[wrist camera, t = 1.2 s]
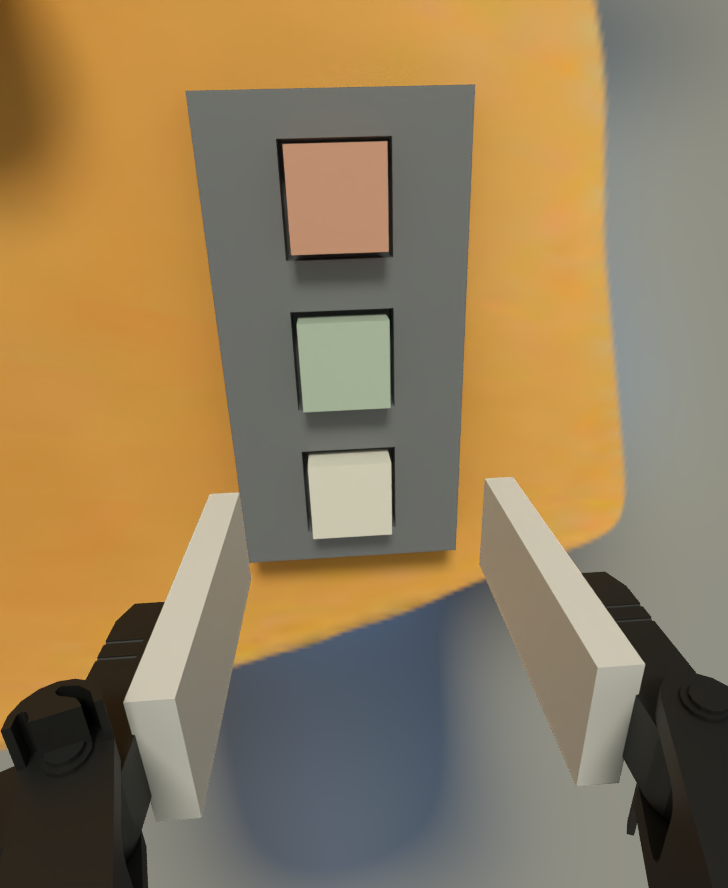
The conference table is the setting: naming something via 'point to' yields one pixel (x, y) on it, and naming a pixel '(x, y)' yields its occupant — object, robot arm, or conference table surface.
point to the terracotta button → (337, 197)
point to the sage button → (344, 362)
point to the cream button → (350, 493)
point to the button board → (339, 303)
